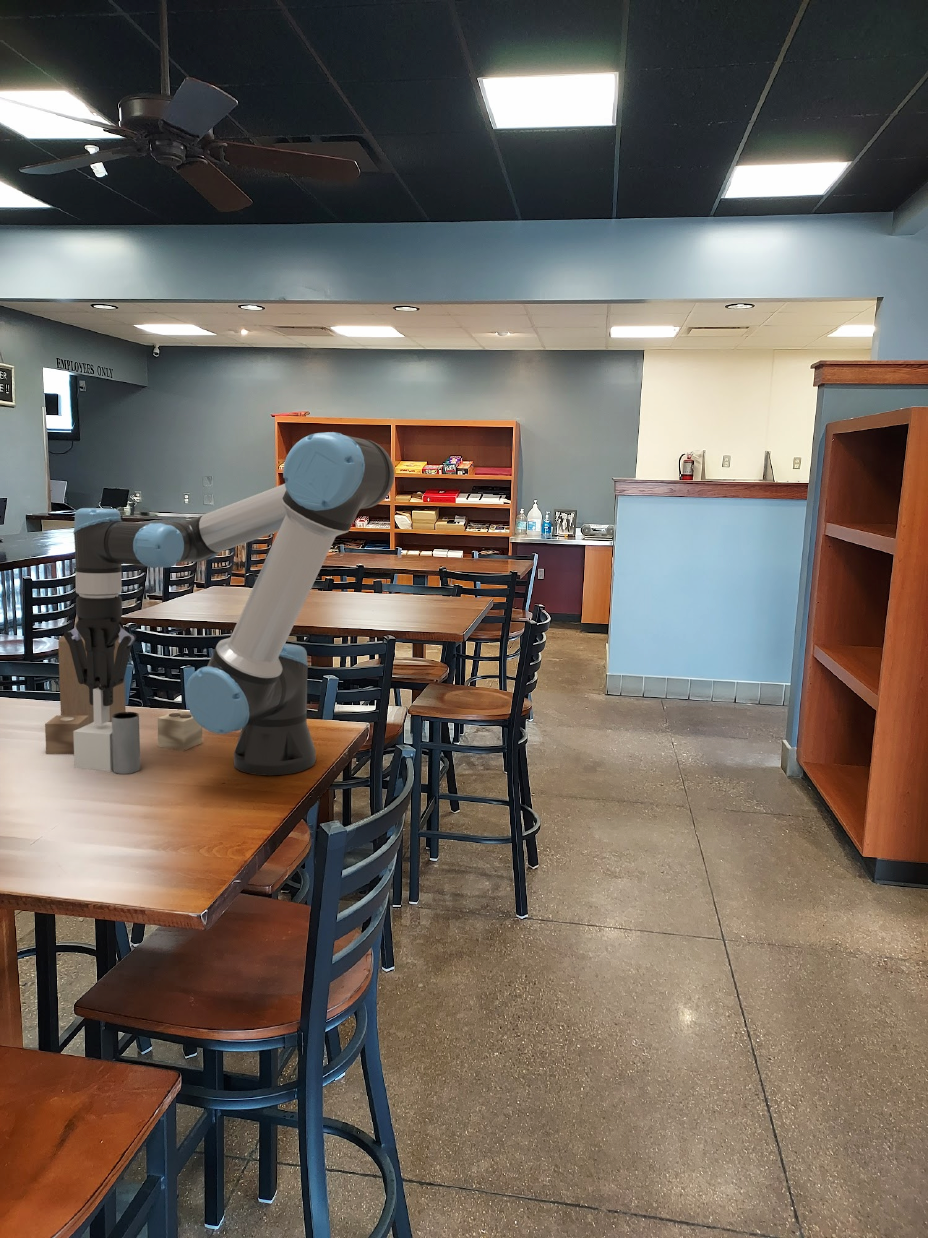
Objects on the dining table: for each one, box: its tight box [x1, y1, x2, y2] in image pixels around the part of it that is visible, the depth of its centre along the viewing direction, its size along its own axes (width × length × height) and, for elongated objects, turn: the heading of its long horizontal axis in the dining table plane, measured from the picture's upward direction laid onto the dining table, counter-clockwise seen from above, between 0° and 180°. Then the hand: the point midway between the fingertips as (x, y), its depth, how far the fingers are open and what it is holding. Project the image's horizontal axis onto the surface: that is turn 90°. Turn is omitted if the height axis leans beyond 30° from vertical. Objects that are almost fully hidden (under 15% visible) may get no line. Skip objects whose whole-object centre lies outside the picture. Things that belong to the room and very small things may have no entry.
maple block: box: [157, 710, 203, 752], centre depth 163 cm, size 6×6×6 cm
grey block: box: [73, 722, 113, 772], centre depth 150 cm, size 7×7×7 cm
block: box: [57, 635, 127, 724], centre depth 172 cm, size 10×10×20 cm
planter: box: [112, 711, 141, 775], centre depth 146 cm, size 4×4×10 cm
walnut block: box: [44, 714, 89, 755], centre depth 157 cm, size 6×6×6 cm
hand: (101, 722), depth 149 cm, fingers closed
